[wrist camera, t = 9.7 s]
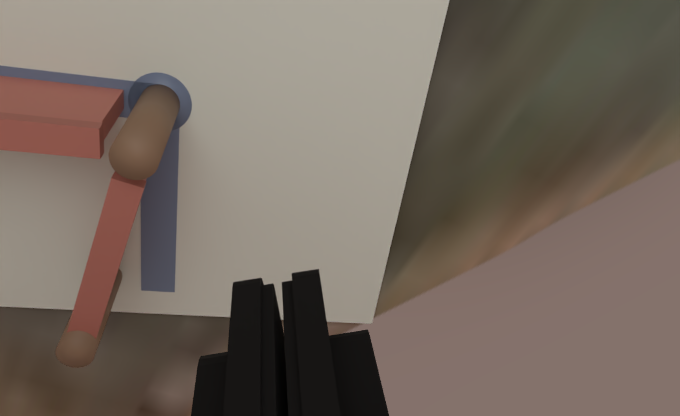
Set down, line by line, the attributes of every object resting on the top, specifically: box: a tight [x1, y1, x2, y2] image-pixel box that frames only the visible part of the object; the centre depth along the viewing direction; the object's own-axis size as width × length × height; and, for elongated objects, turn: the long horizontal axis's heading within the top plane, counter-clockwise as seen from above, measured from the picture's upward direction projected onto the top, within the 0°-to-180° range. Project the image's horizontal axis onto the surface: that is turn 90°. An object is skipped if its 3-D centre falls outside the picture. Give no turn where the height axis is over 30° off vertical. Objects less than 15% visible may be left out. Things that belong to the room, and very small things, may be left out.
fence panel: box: [56, 171, 147, 368], centre depth 29 cm, size 11×2×7 cm, turn 156°
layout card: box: [0, 0, 449, 324], centre depth 31 cm, size 28×24×1 cm
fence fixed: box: [0, 76, 180, 180], centre depth 26 cm, size 13×2×7 cm, turn 81°
